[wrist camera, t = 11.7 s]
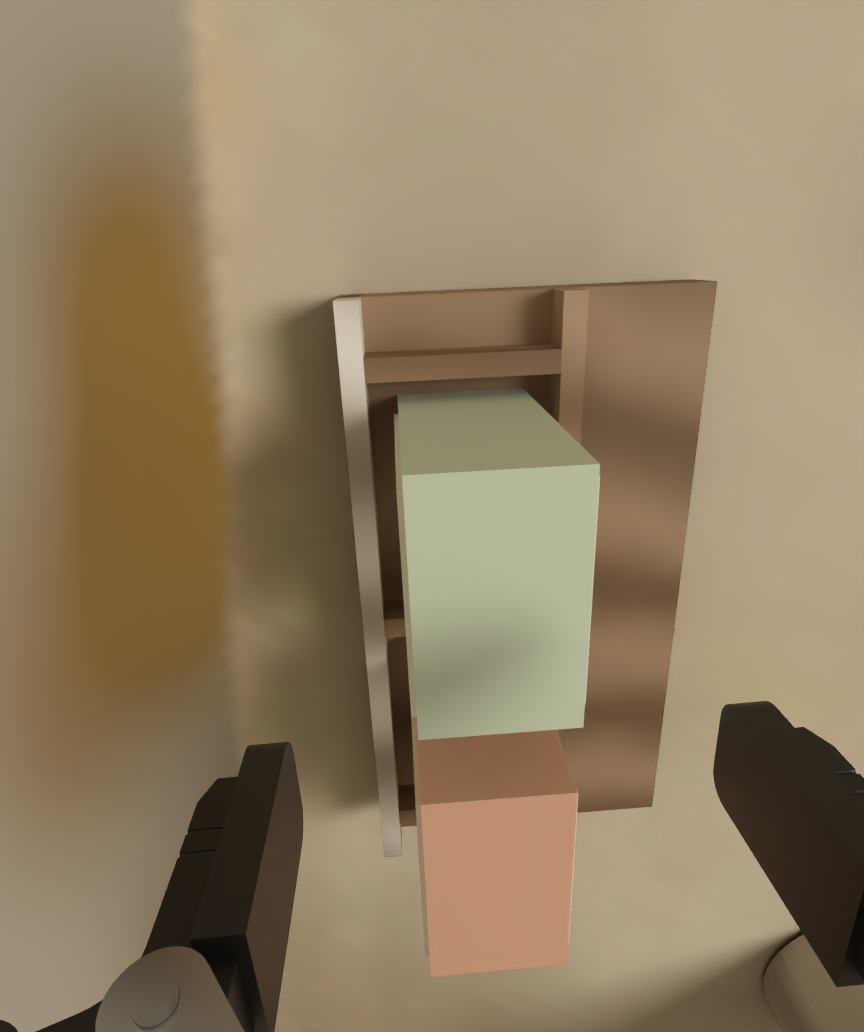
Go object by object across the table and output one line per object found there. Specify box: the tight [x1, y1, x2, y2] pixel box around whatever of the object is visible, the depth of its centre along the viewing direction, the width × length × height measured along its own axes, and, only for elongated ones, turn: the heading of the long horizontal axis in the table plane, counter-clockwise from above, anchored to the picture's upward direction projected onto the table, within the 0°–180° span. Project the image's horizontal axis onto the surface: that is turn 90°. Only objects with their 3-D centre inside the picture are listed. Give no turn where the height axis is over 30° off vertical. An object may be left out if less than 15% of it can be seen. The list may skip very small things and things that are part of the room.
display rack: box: [333, 280, 717, 857], centre depth 26 cm, size 24×13×4 cm, turn 2°
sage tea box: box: [394, 388, 600, 740], centre depth 20 cm, size 8×5×9 cm, turn 2°
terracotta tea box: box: [411, 717, 578, 977], centre depth 24 cm, size 8×5×9 cm, turn 2°
